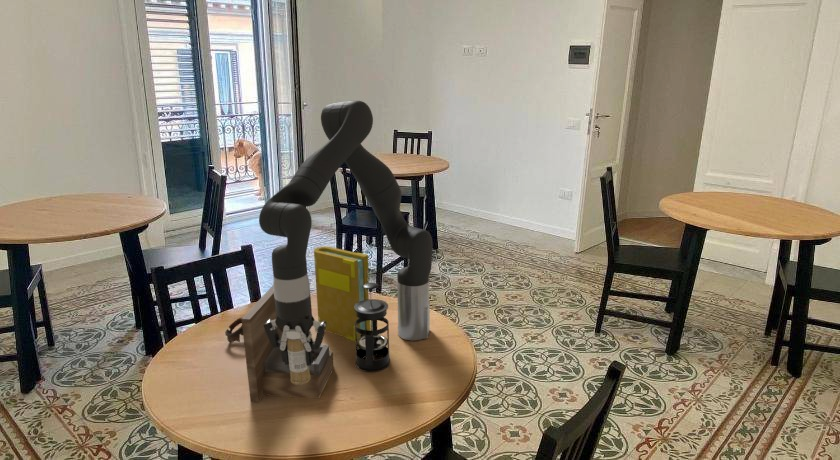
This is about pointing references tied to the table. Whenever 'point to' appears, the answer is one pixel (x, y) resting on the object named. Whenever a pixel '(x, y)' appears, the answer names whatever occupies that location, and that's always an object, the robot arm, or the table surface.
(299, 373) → the sprinkles bottle
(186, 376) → the table surface
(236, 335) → the pottery mug
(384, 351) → the french press
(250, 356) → the brown wooden holder
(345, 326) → the book
